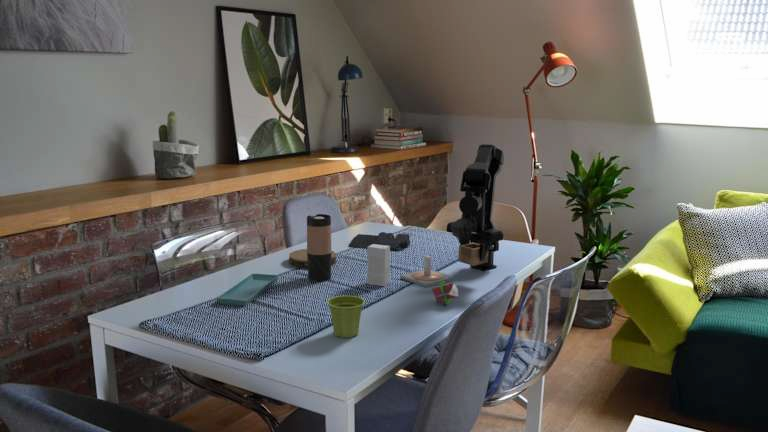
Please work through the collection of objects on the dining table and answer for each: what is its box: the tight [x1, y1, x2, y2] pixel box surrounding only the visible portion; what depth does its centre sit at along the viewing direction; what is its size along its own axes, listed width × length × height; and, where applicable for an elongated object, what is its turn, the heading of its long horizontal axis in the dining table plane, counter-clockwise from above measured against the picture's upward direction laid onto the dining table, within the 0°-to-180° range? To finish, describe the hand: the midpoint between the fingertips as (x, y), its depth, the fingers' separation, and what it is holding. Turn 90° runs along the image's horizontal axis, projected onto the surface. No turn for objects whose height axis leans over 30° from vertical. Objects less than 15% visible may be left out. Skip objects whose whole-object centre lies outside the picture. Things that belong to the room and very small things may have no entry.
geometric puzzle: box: [432, 279, 459, 307], centre depth 205 cm, size 7×7×8 cm
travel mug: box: [306, 213, 333, 283], centre depth 226 cm, size 8×8×20 cm
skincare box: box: [366, 244, 391, 287], centre depth 222 cm, size 6×4×12 cm
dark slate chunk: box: [348, 231, 411, 253], centre depth 269 cm, size 15×22×5 cm
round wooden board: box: [288, 248, 337, 269], centre depth 246 cm, size 16×16×3 cm
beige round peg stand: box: [400, 255, 455, 288], centre depth 227 cm, size 12×12×7 cm
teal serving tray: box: [216, 273, 280, 307], centre depth 214 cm, size 26×9×2 cm, turn 168°
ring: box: [458, 243, 488, 266], centre depth 222 cm, size 6×6×5 cm
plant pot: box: [326, 295, 366, 339], centre depth 181 cm, size 9×9×9 cm
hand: (473, 258), depth 222 cm, fingers closed on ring, 6 cm apart
